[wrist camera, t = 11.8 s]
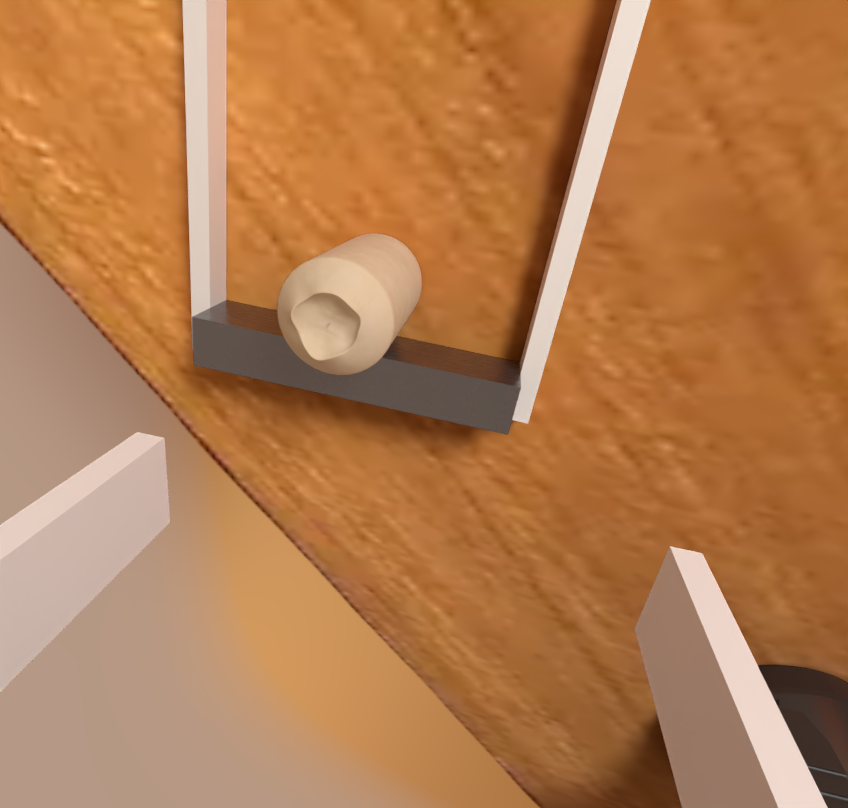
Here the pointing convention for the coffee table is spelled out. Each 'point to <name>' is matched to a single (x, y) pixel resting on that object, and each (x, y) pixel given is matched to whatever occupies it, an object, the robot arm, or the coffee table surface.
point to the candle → (349, 303)
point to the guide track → (405, 358)
